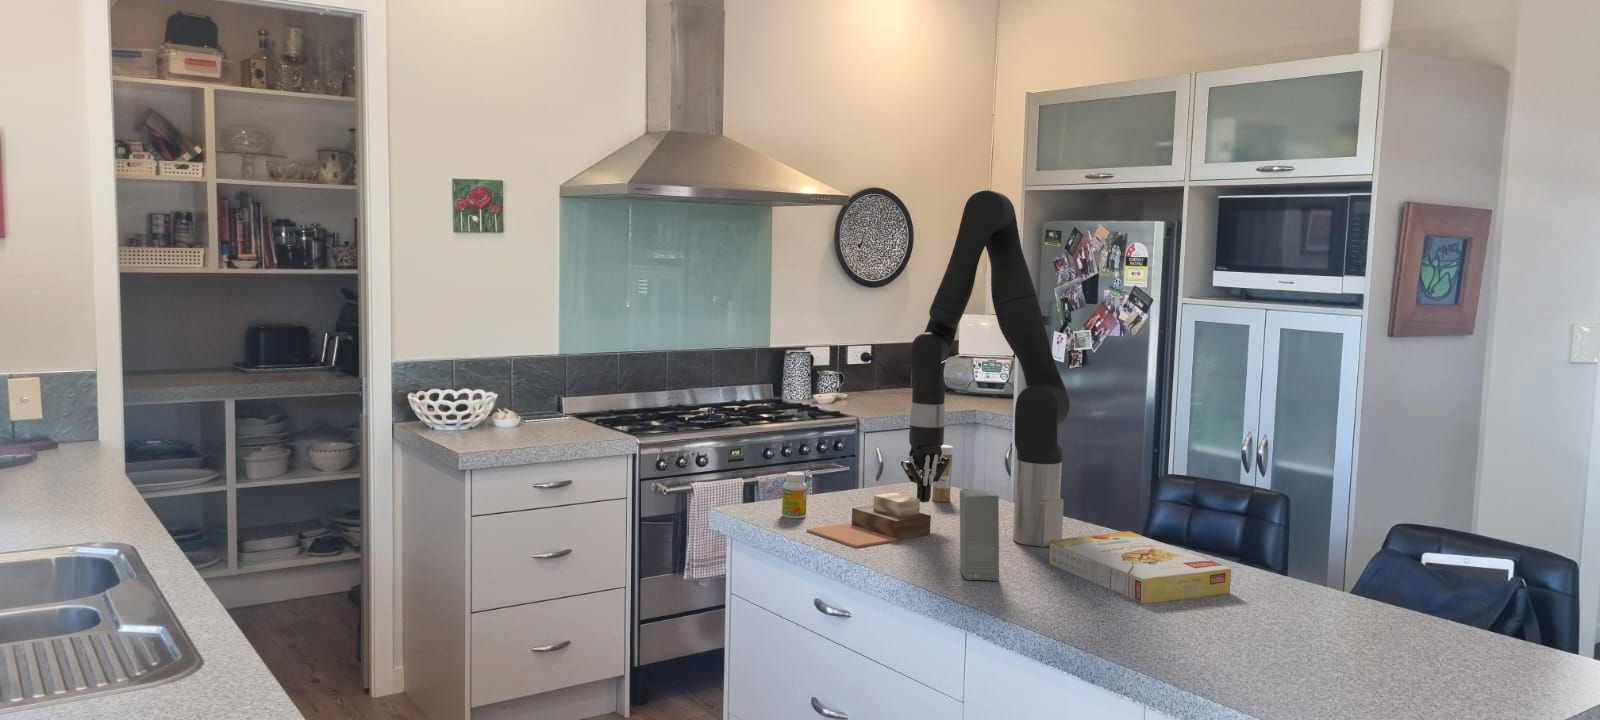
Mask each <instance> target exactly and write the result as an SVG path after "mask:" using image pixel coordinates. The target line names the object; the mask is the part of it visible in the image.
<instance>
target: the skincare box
mask: <svg viewBox="0 0 1600 720" xmlns="http://www.w3.org/2000/svg"><path fill="white" fill-rule="evenodd" d="M999 505H1000V503H999V495H998V494H997V493H996V492H995V490H994V489H993V488H986V489H985V488H983V489H981V488H979V489H978V488H977V489H976V488H969V489H968V488H967V489H966V488H963V489H959V570H960V571H961V573H962V575H963V577H964V579H965V580H971V581H972V580H973V581H976V580H977V581H995V582H999V581H1000V539H999V537H1000V534H999V533H1000V531H999V529H1000V528H999V527H1000V526H999V525H1000V523H999V520H1000V519H999V517H1000V516H999V515H1000V514H999V513H1000V510H999Z"/></svg>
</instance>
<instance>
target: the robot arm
mask: <svg viewBox="0 0 1600 720" xmlns="http://www.w3.org/2000/svg"><path fill="white" fill-rule="evenodd" d="M958 227H959V228H958V231H957V236H956V238H955V242H954V246H953V248H952V249H953V250H952V253H951V255H950V258H949V261H948V264H947V266H946V268H945V269H946V270H945V272H944V274H943V277H942V279H941V282H940V284H939V287H938V288H937V291H936V292H935V296H934V298H933V301H932V302H931V305H930V308H929V312H928V315H929V320H928V323H927V325H926V327H925V330H924V332H922V333H920V334H917V336H915V338H913V341H912V343H911V347H910V366H911V367H910V368H911V369H910V370H911V376H912V390H911V391H912V393H911V394H912V395H911V407H910V414H909V433H908V435H909V436H908V437H909V438H908V442H909V444H910V447H911V448H910V450H909V454H908V455H909V456H908V457H907V459H906V460H901V461H900V466H901V468H902V469H903V471H904V472H905V475H906V476H907V478H908V479H909V481H910V482H911V483H914V484H916V487H917V489H916V498H917V499H920V503H929V502H930V499H931V498H932V495H931V494H932V486H933V482H935V481H936V482H938V481H939V479H940V477H941V475H942V474H943V472H944V470H945V469H946V467H947V465H948V463H949V459H948V458H945V457H944V456H943V455H942V450H941V446H942V445H945V444H944V442H945V441H944V440H945V421H946V419H945V417H946V411H945V409H946V408H945V399H946V398H945V397H946V384H945V379H944V378H943V377H942V362H943V361H945V360H946V358H947V357H948V355H949V353H950V352H951V350H952V347H953V344H954V342H955V338H956V334H957V332H958V327H959V323H960V321H961V320H962V317H963V315H964V313H965V311H966V308H967V306H968V304H969V301H970V299H971V296H972V293H973V290H974V287H975V286H974V285H975V282H976V281H975V279H976V277H977V276H976V275H977V270H978V265H979V263H980V259H981V256H982V253H983V252H984V250H985V248H986V251H987V254H988V259H989V263H990V292H991V300H992V301H991V302H992V305H993V310H994V312H995V316H996V319H997V324H998V327H999V329H1000V332H1001V334H1002V335H1003V337H1004V339H1005V340H1006V342H1007V344H1008V346H1009V347H1010V349H1011V350H1012V352H1013V353H1014V354H1015V357H1016V358H1017V361H1018V362H1019V364H1020V367H1021V370H1022V373H1023V376H1024V381H1025V384H1026V385H1025V386H1026V387H1025V388H1023V389H1022V390H1021V391H1020V392H1019V394H1018V396H1017V398H1016V401H1015V406H1014V407H1015V408H1014V437H1013V438H1014V446H1015V449H1016V468H1015V470H1016V471H1015V472H1016V473H1015V488H1014V489H1015V490H1014V510H1013V529H1012V530H1013V532H1012V540H1013V542H1016V543H1018V544H1021V545H1027V546H1033V547H1040V548H1045V547H1049V542H1050V541H1051V540H1058V539H1063V526H1064V525H1063V524H1064V523H1063V522H1064V504H1065V502H1064V501H1065V500H1064V498H1062V497H1061V486H1062V485H1061V483H1062V469H1063V468H1062V466H1063V448H1062V447H1061V446H1060V445H1059V442H1058V426H1059V425H1060V424H1061V423H1062V422H1064V421H1065V420H1066V419H1067V417H1068V415H1069V412H1070V407H1071V405H1070V397H1069V394H1068V392H1067V389H1066V386H1065V384H1064V382H1063V379H1062V377H1061V374H1060V372H1059V369H1058V367H1057V364H1056V361H1055V359H1054V355H1053V350H1052V348H1051V343H1050V340H1049V336H1048V332H1047V329H1046V326H1045V325H1046V324H1045V322H1044V317H1043V313H1042V309H1041V306H1040V301H1039V298H1038V295H1037V292H1036V289H1035V286H1034V283H1033V280H1032V276H1031V272H1030V270H1029V267H1028V264H1027V261H1026V259H1025V255H1024V253H1023V249H1022V244H1021V239H1020V232H1019V228H1018V227H1019V226H1018V221H1017V213H1016V210H1015V207H1014V205H1013V203H1012V201H1011V200H1010V199H1009V197H1007V196H1006V195H1004V194H1003V193H1000V192H997V191H993V190H990V189H983V190H982V189H981V190H977V191H976V192H974V193H973V194H971V195H970V196H969V197H968V199H967V201H966V202H965V205H964V209H963V212H962V216H961V219H960V223H959V226H958ZM936 472H937V473H936ZM935 474H936V475H935Z"/></svg>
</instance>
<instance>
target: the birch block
mask: <svg viewBox="0 0 1600 720" xmlns="http://www.w3.org/2000/svg"><path fill="white" fill-rule="evenodd" d="M873 505H874V509H875V510H879V511H882V512H886V513H889V514H893V515H896V516H904V515H911V514H918V513H920V508H921V502H920V499H917V497H912V496H909V495H906V494H901V493H897V492H891V493H890V492H889V493H882V494H881V493H880V494H875V495H873Z"/></svg>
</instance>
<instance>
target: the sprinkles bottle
mask: <svg viewBox="0 0 1600 720" xmlns="http://www.w3.org/2000/svg"><path fill="white" fill-rule="evenodd" d="M941 450H942V455H943V456H944V457H945V458H948V459H949V463H948V465H947V467H946V469H945V470H944V472H943V474H942V475H941V477H940V479H939V481H938V482H936V481H935V482H933V484H932V495H931V500H932V501H934V502H938V503H947V502H950V501H951V488H952V471H953V468H952V467H953V464H952V463H953V454H954V447H953V445H949V444H943V445H942V446H941ZM936 473H937V472H936ZM935 475H936V474H935Z"/></svg>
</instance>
